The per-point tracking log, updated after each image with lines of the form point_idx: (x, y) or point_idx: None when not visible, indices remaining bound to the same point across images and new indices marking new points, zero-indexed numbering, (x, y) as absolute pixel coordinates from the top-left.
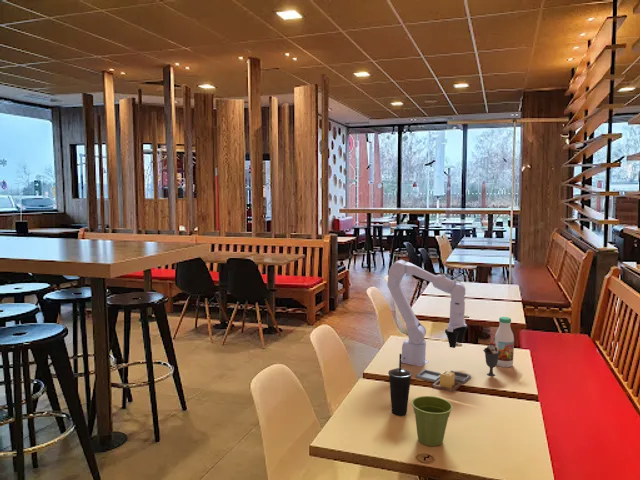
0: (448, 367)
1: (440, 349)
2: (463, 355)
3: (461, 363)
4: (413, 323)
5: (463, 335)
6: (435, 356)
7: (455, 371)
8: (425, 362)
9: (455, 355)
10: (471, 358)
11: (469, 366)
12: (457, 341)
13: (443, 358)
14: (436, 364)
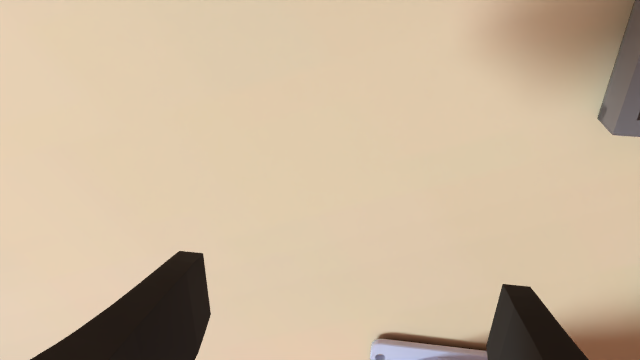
0: (409, 186)
1: (45, 331)
2: (16, 161)
3: (226, 117)
4: None
5: (118, 341)
6: (213, 326)
7: (631, 82)
8: (428, 356)
9: (72, 215)
10: (25, 76)
11: (256, 20)
12: (202, 318)
13: (213, 272)
14: (390, 282)
